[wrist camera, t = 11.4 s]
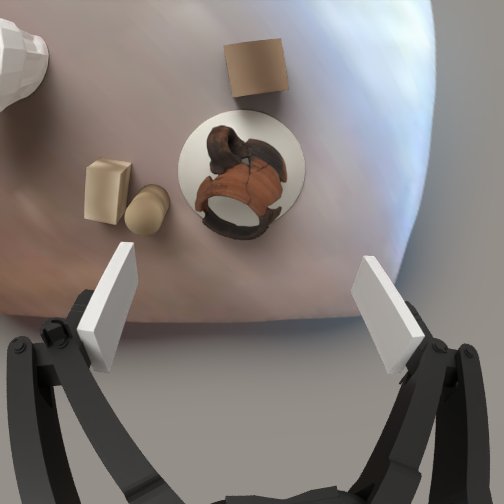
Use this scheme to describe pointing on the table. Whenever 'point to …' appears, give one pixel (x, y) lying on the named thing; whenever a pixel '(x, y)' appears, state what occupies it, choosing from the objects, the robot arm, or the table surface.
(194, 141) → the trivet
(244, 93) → the walnut block
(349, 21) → the table surface
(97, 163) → the maple block
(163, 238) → the table surface
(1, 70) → the cup
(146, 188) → the oak dowel offcut
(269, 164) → the pottery mug
